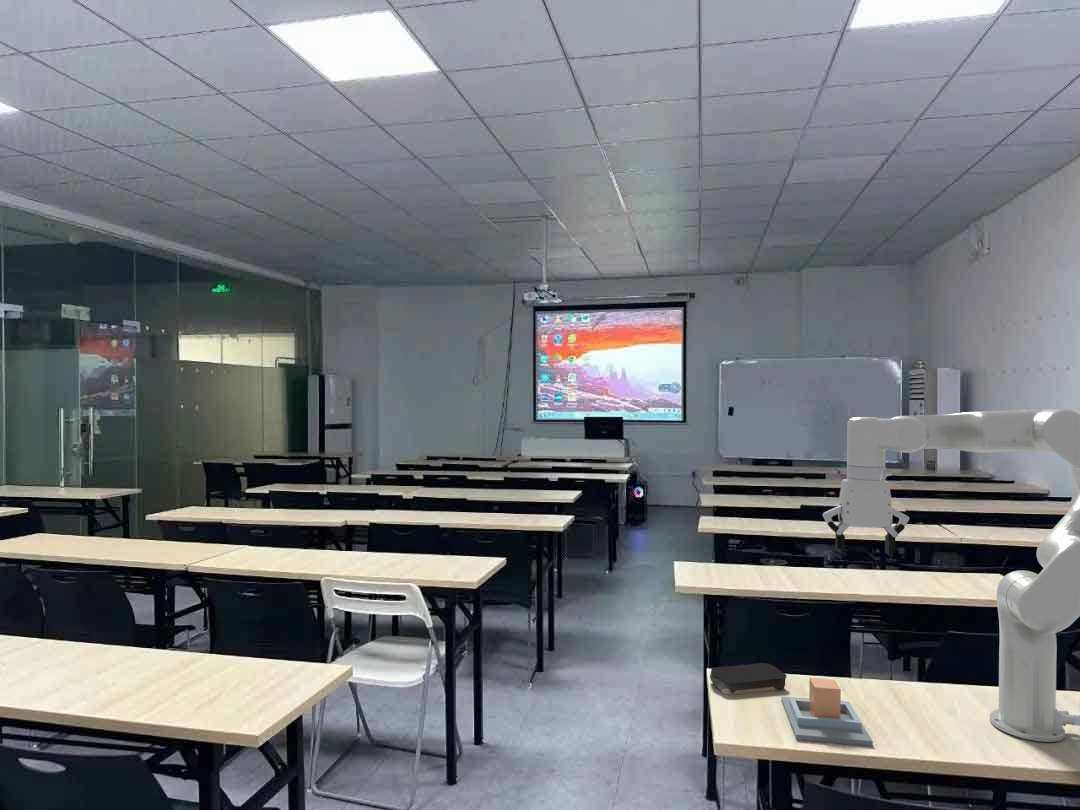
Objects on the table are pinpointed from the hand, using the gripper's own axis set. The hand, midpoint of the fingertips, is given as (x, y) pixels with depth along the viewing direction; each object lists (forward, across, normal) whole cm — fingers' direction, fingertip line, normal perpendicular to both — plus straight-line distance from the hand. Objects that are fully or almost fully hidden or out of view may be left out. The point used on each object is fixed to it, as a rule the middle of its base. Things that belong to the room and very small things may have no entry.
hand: (864, 553), depth 152 cm
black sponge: (+34, +23, -7) cm, 42 cm away
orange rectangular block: (+32, +10, +9) cm, 35 cm away
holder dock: (+33, +10, +9) cm, 36 cm away
